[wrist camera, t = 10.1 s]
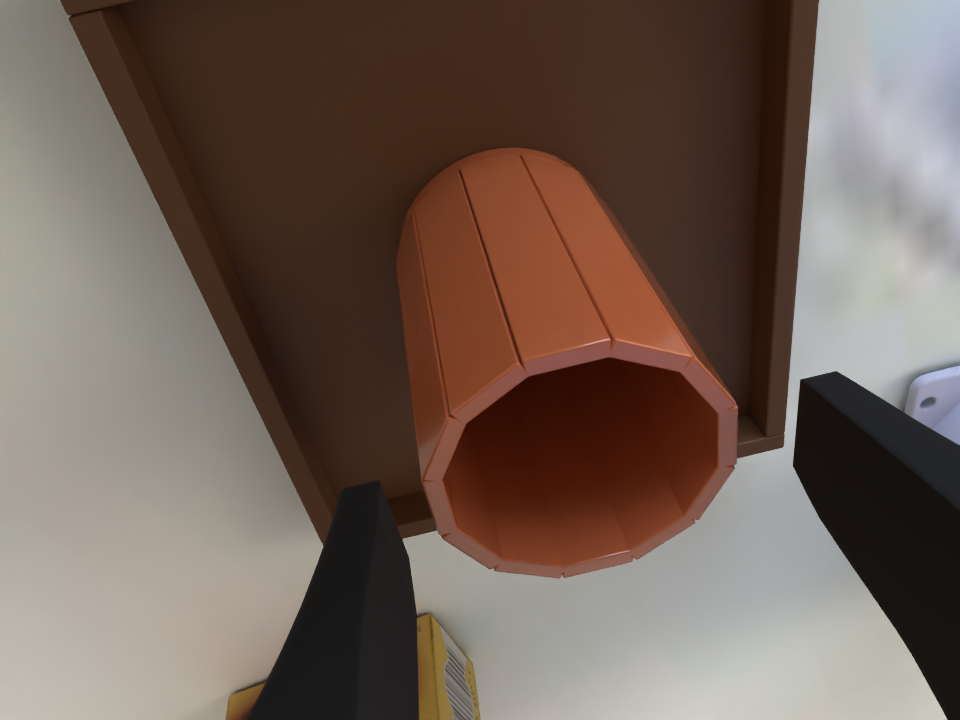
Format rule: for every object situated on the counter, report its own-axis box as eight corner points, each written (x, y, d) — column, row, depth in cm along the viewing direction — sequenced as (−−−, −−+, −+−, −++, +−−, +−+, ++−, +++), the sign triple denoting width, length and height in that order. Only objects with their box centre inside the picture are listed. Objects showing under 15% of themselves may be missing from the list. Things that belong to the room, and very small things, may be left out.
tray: (758, 409, 25) (784, 447, 23) (329, 512, 25) (328, 557, 23) (789, -204, 15) (836, -203, 14) (77, -37, 15) (49, -19, 13)
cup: (614, 310, 21) (735, 537, 14) (424, 356, 21) (461, 603, 14) (597, 122, 18) (741, 308, 11) (372, 176, 18) (390, 391, 11)
